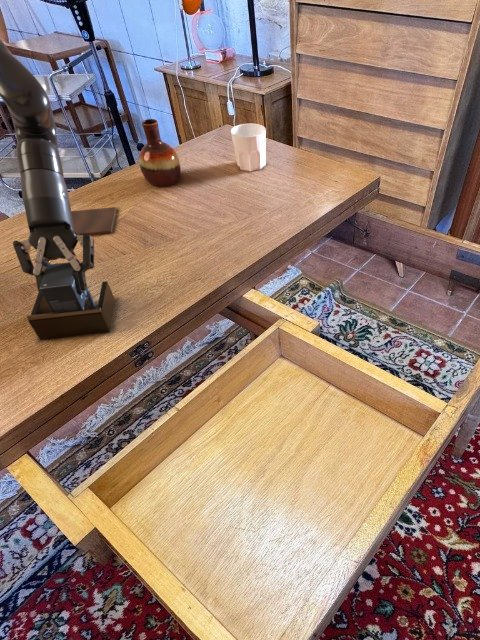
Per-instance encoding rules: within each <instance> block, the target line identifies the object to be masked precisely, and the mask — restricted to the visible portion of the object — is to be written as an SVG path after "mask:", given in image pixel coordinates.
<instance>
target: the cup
mask: <svg viewBox="0 0 480 640" xmlns="http://www.w3.org/2000/svg"><path fill="white" fill-rule="evenodd" d="M230 136H231V140H232V145H233V149H234V155H235V159H236V165H237V166H238V167H239V168H240V171H248V172H250V173H251V172H253V171H257V170H258V171H259V170H262V168H264V166H267V165H266V164H267V159H266V158H267V153H266V152H267V151H266V149H267V146H266V145H267V143H266V142H267V129H266V127H265V126H264V125H262V124H258V123H240V124H237V125H235V126H233V127H232V128H231V129H230Z"/></svg>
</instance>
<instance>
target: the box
mask: <svg viewBox="0 0 480 640" xmlns="http://www.w3.org/2000/svg"><path fill="white" fill-rule="evenodd" d="M74 272H75V270H74V268H73V267H72V265H71V264H70V262H69V261H67V262H59V263H50V265H49V266H48V267H47V268H46V269H45V273H44V276H43V280H42V283H41V286H40V290H41V292H42V294H43V296H44V298H45V300H46V301H47V303H48V305H49V307H50V309H51V310H52V312H53V313H54V312H63V311H72V310H81V309H90V308H96V302H95V301H94V298H93V295H92V294H91V292H90V290H89V289H90V288H89V287H88V286H87V290H85V293H78V292H77V289H76V283H75V278H74Z"/></svg>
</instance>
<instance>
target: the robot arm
mask: <svg viewBox="0 0 480 640" xmlns="http://www.w3.org/2000/svg"><path fill="white" fill-rule="evenodd" d="M0 98H1V100H2V101H3V102H4V104H5V105H6V107H7V109H8V112H9V114H10V117H11V120H12V124H13V127H14V132H15V137H16V143H17V144H16V151H15V152H16V159H17V165H18V169H19V176H20V188H21V195H22V196H21V198H22V202H23V205H24V211H25V217H26V223H27V227H28V230H29V235H28V239H25V240H21V241H18V240H13V242H12V246H13V248H14V249H13V250H14V252H15V253H16V257H17V258H18V262H19V265H20V268H21V269H22V270H21V271H22V272H23V273H24V274H28V275H30V276H34V277H35V282H36V286H37V287H36V288H37V291H38V293H40V294H42V292H41V290H40V286H41V283H42V280H43V276H44V273H45V269H46V268H47V267H48V266H49V265H50V264H52V263H51V262H52V261H57V260H60V259H62V260H67V262H70V264H71V265H72V267H73V268H74V270H75V272H74V278H75V283H76V289H77V292H78V293H85V290H87V287H88V284H87V278H86V272H87V271H89V270H93V269H94V268H95V238H94V237H93V236H92V235H89V234H86V233H85V234H84V235H77V234H76V232H75V230H74V224H73V218H72V213H71V211H72V207H71V201H70V195H69V192H68V191H69V190H68V188H67V184H66V180H65V176H64V170H63V163H62V160H61V155H60V151H59V150H58V149H59V148H58V136H57V127H56V122H55V116H54V112H53V108H52V104H51V101H50V98H49V96H48V93H47V92H46V90H45V88H44V87H43V85H42V84H41V83H40V82H39V80H38V79H37V78H36V76H35V75H34V74H33V73H32V72H31V71H30V70H29V69H28V68H27V67H26V66H25V65H24V64H23V63H22V62H21V61H19V59H17V58H16V57H15V56H14V55H13V54H12V52H11V51H10V49H9V48H8V47H7V45H6V43H4V41H3V40H2V39H1V38H0ZM78 242H79V245H80V246H81V247H82V262H81V260H80V258H79V257H78V255H77V253H76V252H75V251H74V250H75V248H76V247H77V244H78ZM31 247H32V248H33V249H34V250H35V251H36V253H35V256H34V264H33V261H32V258H31V255H30V253H31V251H32V250H31ZM42 296H43V294H42ZM43 297H44V296H43Z"/></svg>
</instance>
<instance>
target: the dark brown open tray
mask: <svg viewBox="0 0 480 640" xmlns="http://www.w3.org/2000/svg"><path fill="white" fill-rule="evenodd" d="M115 304H116V298H115V296H114V293H113V291H112V289H111V287H110V284H109V282H108V281H107V280H105V281H102V283H101V288H100V292H99V298H98V302H97V306H96V307H95V308H90V309H81V310H72V311H63V312H54V313H53V312H52V310H51V309H50V307H49V305H48V303H47V301H46V300H45V298H44V297H43V296H42V294H40V293H39V292H38V293H37V296H36V299H35V301H34V305H33V307H32V311H31V313H30V315H29V314H28V315H26V320H27V321H28V324H29V325H30V327H31V328H32V330H33V331H34V333H35V334H36V336H37V337H38V339H39V341H46V340H54V339H63V338H73V337H79V336H80V337H81V336H89V335H98V334H106V333H111V328H112V324H113V323H112V322H113V316H114V311H115Z"/></svg>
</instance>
